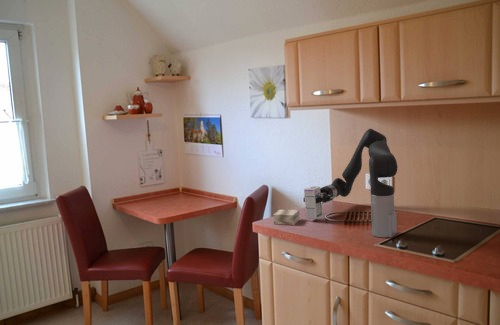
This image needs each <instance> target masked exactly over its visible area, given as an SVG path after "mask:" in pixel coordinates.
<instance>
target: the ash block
mask: <svg viewBox="0 0 500 325" xmlns="http://www.w3.org/2000/svg"><path fill="white" fill-rule="evenodd" d="M272 217H273V225H277V224H286V225H285V226H295V225H296V224H297V223H298V222H299V221H300V218H301V217H300V210H299V209H278V210H277V211H276V212H274V213H273V214H272Z"/></svg>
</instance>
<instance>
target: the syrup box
mask: <svg viewBox="0 0 500 325" xmlns="http://www.w3.org/2000/svg"><path fill="white" fill-rule="evenodd" d="M320 188H321V187H320V186H317V185H316V186H314V185H313V186H311V185H310V186H309V187H306V188H303V193H304V195H303V196H305V202H304V209H305V216H306V217H305V218H306V219H312V220H314V219H315V220H317V219H319V218H321V217H322V216H323V210H322V202H320V203H316V199H317V198H319V197H320V196H321V194H320Z"/></svg>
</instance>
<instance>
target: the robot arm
mask: <svg viewBox="0 0 500 325" xmlns="http://www.w3.org/2000/svg"><path fill="white" fill-rule="evenodd" d="M365 148H367V149H368V150H367V152H368V156H369V160H368V169H369V170H368V171H369V180H370V181H369V183H370V210H371V211H370V216H371V217H370V218H371V235H372V236H373V237H378V238H393V237H394V236H396V235H397V234H398V229H397V228H398V227H397V226H398V225H397V224H398V223H397V211H395V188H394V186H392V185H389V184H386V183H383V182H382V181H380V180H379V179H380V178H381V179H382V178H393V177H395V176H396V175H397V173H398V172H397V171H398V162H397V159H396V157H395V156H394V154H393V153H392V152H391V150H390V147H389V146H388V141H387V137H386V135H384V134H382V133H380V132H378V131H377V130H374V129H373V128H368V129H367V130H366V131H365V132H364V134H363V135H362V137H361V139H360V140H359V142H358V145H357V147H356V148H355V151H354V153H353V155H352V157H351V159H350V160H349V163H348V164H347V165H346V167H345V169H344V170H343V172H342V173H341V174H342V175H341V176H342V178H340V177H337V178H335V179H334V180H333V181H332V182H331V183H330V184H328V185H323V187H320V194H321V196H320V197H319V198H317V199H316V203H320V202H321V204H323V203H324V204H325V203H328V202H331V201H334V199H335V198H337V197H339V196H341V197H343V198H344V197H347V196H349V195H350V193H351V191H352V188H353V184H354V182H355V180H356V179H357V177H358V175H359V174H360V173H361V170H362V167H363V150H364V149H365ZM343 179H344V180H343ZM303 196H304V195H303ZM303 202H304V203H305V196H304V197H303Z"/></svg>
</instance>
